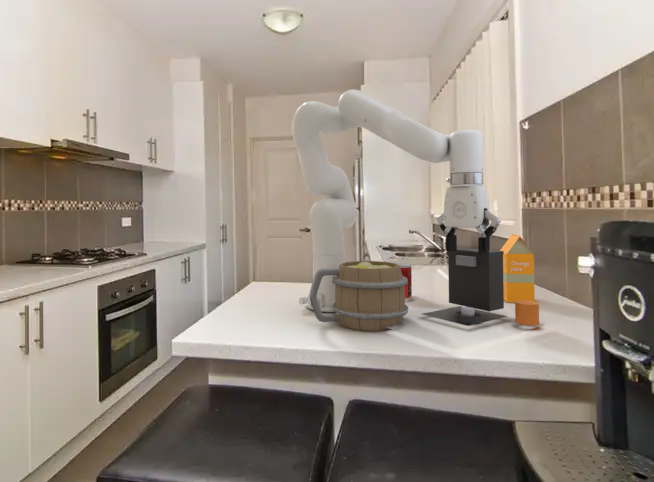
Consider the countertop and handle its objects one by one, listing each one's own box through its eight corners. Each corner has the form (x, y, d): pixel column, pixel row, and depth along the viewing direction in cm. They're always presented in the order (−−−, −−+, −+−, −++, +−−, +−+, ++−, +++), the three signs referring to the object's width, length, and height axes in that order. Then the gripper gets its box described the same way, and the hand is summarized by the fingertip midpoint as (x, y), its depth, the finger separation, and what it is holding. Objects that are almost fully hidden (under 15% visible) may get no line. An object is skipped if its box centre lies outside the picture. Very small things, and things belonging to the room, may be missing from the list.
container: (531, 331, 105) (531, 305, 105) (511, 326, 109) (510, 301, 109) (543, 328, 108) (543, 303, 108) (522, 323, 112) (522, 299, 112)
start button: (469, 317, 108) (469, 310, 108) (458, 314, 111) (458, 307, 111) (477, 315, 110) (477, 308, 110) (466, 313, 112) (466, 306, 112)
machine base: (469, 331, 106) (469, 318, 106) (420, 318, 118) (420, 306, 118) (509, 321, 114) (509, 309, 114) (459, 310, 126) (459, 299, 126)
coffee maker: (486, 312, 111) (485, 253, 111) (444, 303, 122) (444, 249, 122) (504, 308, 115) (503, 251, 115) (462, 300, 126) (462, 247, 126)
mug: (303, 316, 121) (302, 260, 121) (391, 312, 124) (391, 258, 124) (317, 336, 102) (317, 270, 102) (421, 331, 105) (420, 267, 106)
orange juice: (506, 302, 136) (505, 235, 136) (499, 296, 144) (498, 233, 145) (535, 303, 134) (534, 235, 134) (526, 297, 143) (525, 233, 143)
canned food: (414, 301, 138) (414, 265, 138) (388, 301, 138) (388, 265, 138) (407, 296, 146) (407, 262, 146) (383, 296, 146) (382, 262, 146)
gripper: (427, 182, 116) (427, 250, 116) (490, 178, 101) (490, 257, 101) (446, 183, 120) (447, 248, 120) (509, 179, 105) (510, 254, 105)
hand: (467, 252), depth 110 cm, fingers open, 8 cm apart
